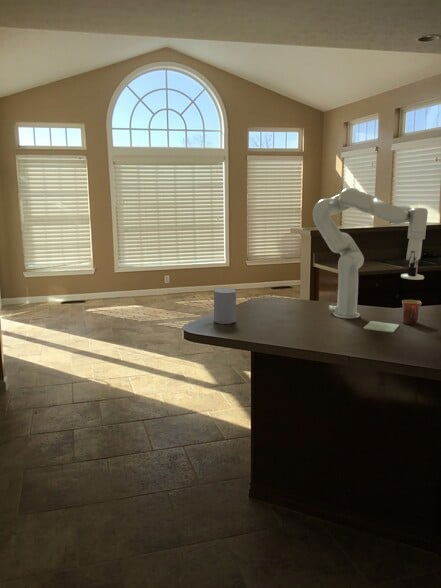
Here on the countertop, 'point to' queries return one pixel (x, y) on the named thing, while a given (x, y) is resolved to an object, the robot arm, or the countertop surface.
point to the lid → (416, 277)
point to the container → (224, 306)
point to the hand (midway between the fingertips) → (412, 274)
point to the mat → (381, 326)
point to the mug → (410, 311)
